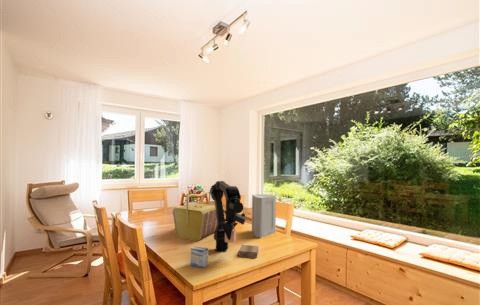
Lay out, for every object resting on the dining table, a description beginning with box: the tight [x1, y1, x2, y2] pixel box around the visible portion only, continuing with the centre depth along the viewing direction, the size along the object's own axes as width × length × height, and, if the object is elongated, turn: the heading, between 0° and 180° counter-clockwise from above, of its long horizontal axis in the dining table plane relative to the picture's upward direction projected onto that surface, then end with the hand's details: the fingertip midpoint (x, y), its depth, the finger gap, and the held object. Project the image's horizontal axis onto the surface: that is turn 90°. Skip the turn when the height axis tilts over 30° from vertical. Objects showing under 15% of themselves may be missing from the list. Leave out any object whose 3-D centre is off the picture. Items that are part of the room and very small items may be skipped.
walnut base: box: [238, 244, 259, 259], centre depth 136 cm, size 10×10×3 cm
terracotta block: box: [225, 228, 237, 244], centre depth 129 cm, size 5×5×6 cm
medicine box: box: [189, 245, 209, 269], centre depth 120 cm, size 8×4×9 cm, turn 69°
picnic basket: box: [172, 190, 218, 242], centre depth 170 cm, size 29×26×30 cm
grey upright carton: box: [251, 193, 277, 239], centre depth 176 cm, size 19×15×28 cm
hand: (230, 238), depth 129 cm, fingers closed on terracotta block, 5 cm apart
